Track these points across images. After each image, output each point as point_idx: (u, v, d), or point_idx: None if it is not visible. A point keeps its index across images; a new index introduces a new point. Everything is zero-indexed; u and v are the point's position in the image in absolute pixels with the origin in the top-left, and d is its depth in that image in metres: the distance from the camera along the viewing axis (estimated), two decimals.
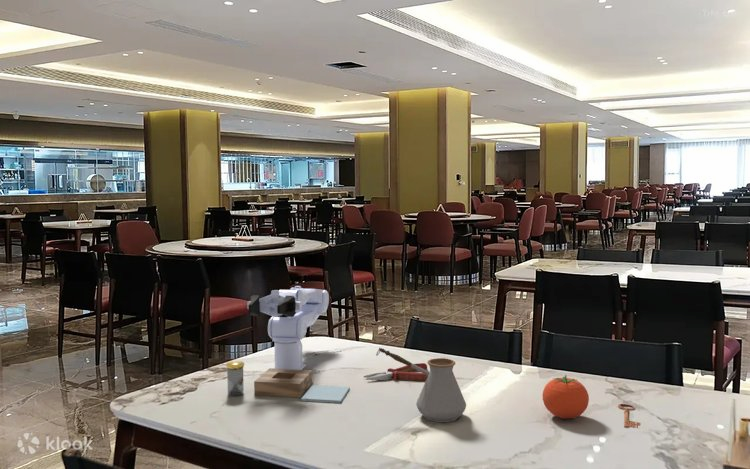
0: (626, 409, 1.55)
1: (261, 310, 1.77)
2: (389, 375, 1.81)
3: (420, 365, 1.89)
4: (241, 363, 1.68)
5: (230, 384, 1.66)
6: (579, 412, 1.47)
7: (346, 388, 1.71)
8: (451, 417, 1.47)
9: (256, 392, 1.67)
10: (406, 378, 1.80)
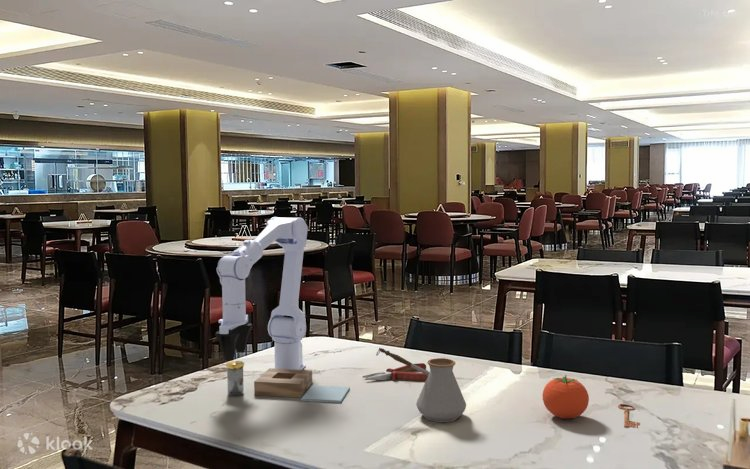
0: (626, 409, 1.55)
1: None
2: (388, 375, 1.81)
3: (419, 365, 1.89)
4: (241, 363, 1.68)
5: (230, 384, 1.66)
6: (579, 412, 1.47)
7: (346, 388, 1.71)
8: (451, 417, 1.47)
9: (256, 392, 1.67)
10: (405, 378, 1.80)
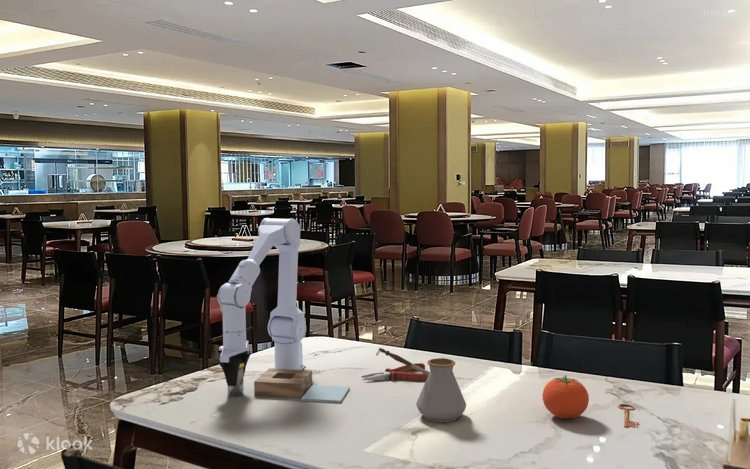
0: (626, 409, 1.55)
1: None
2: (387, 375, 1.80)
3: (418, 365, 1.89)
4: (241, 363, 1.68)
5: None
6: (579, 412, 1.47)
7: (346, 388, 1.71)
8: (451, 417, 1.47)
9: (256, 392, 1.67)
10: (404, 378, 1.80)
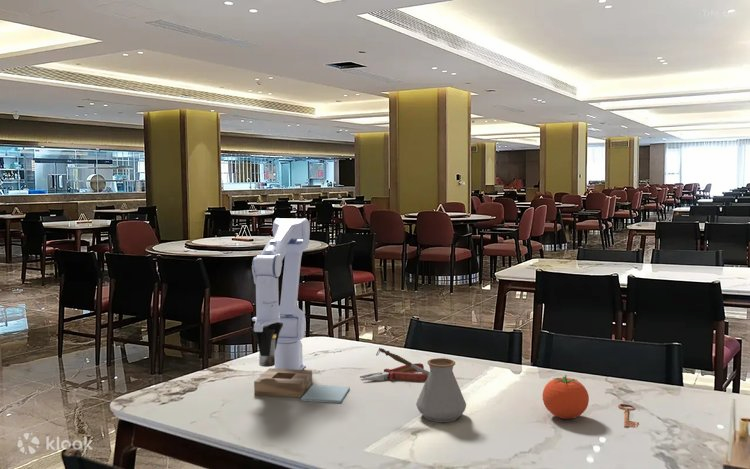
0: (626, 409, 1.55)
1: None
2: (385, 375, 1.80)
3: (416, 365, 1.89)
4: (273, 334, 1.70)
5: None
6: (579, 412, 1.47)
7: (346, 388, 1.71)
8: (451, 417, 1.47)
9: (256, 392, 1.67)
10: (402, 378, 1.80)
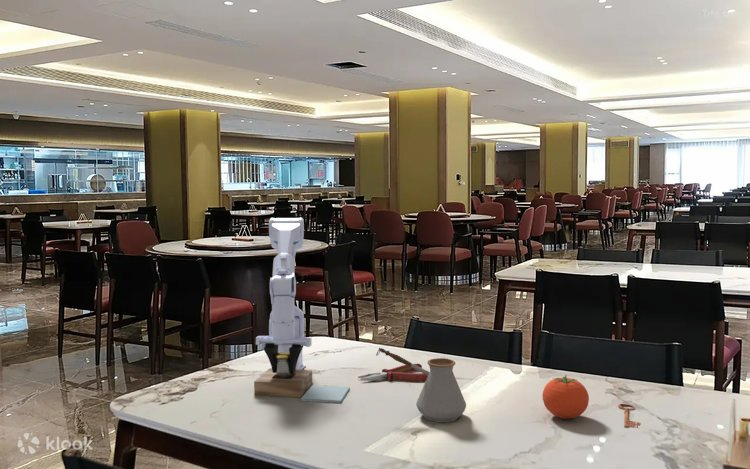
0: (626, 409, 1.55)
1: None
2: (383, 375, 1.80)
3: None
4: (284, 352, 1.73)
5: None
6: (579, 412, 1.47)
7: (346, 388, 1.71)
8: (451, 417, 1.47)
9: (256, 392, 1.67)
10: (400, 378, 1.79)
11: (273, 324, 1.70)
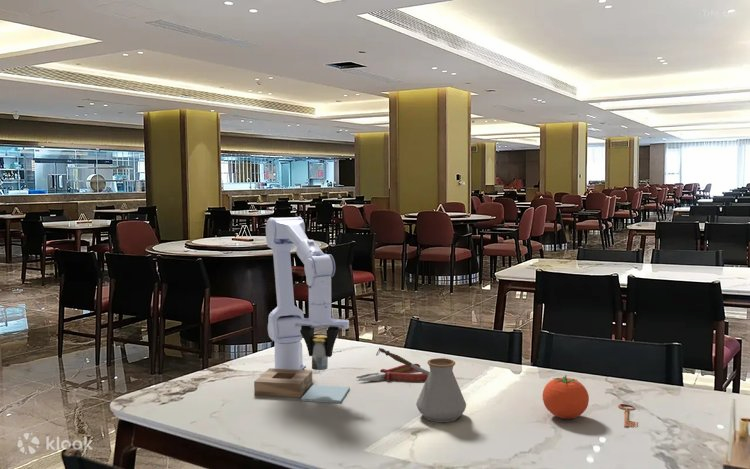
0: (626, 409, 1.55)
1: None
2: (382, 376, 1.80)
3: None
4: (320, 335, 1.69)
5: (327, 356, 1.66)
6: (579, 412, 1.47)
7: (346, 388, 1.71)
8: (451, 417, 1.47)
9: (256, 392, 1.67)
10: (399, 379, 1.79)
11: (310, 306, 1.65)
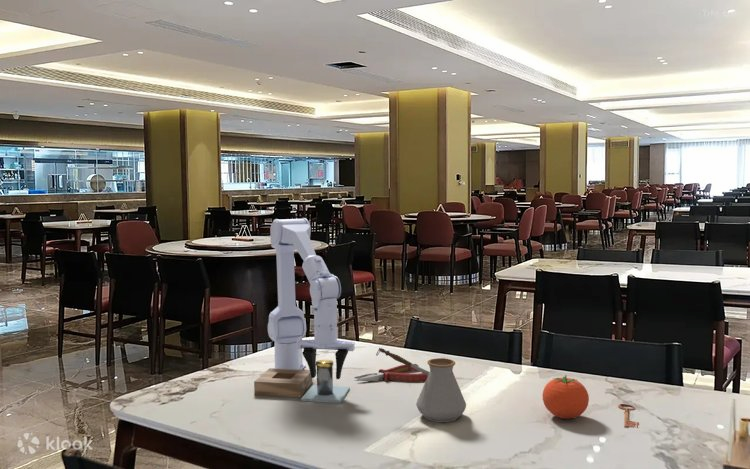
0: (626, 409, 1.55)
1: None
2: (380, 376, 1.80)
3: None
4: (324, 360, 1.68)
5: (332, 381, 1.66)
6: (579, 412, 1.47)
7: (346, 388, 1.71)
8: (451, 417, 1.47)
9: (256, 392, 1.67)
10: (397, 379, 1.79)
11: (315, 328, 1.65)
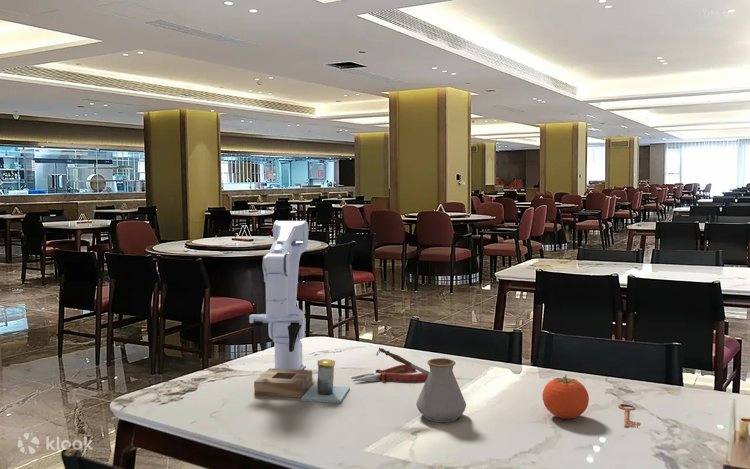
0: (626, 409, 1.55)
1: None
2: (377, 376, 1.80)
3: (408, 366, 1.88)
4: (326, 359, 1.68)
5: None
6: (579, 412, 1.47)
7: (346, 388, 1.71)
8: (451, 417, 1.47)
9: (256, 392, 1.67)
10: (394, 379, 1.79)
11: (267, 302, 1.71)
